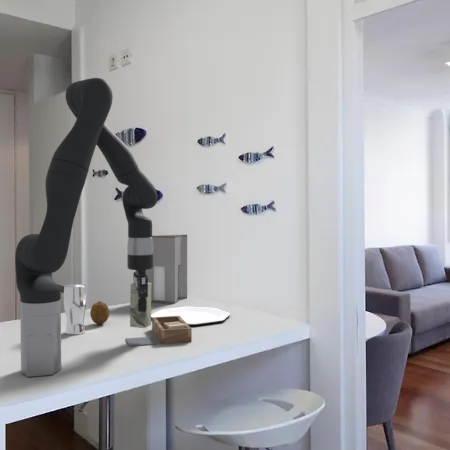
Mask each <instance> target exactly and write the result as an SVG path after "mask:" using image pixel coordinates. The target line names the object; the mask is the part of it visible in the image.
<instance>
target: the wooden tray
mask: <svg viewBox="0 0 450 450" xmlns="http://www.w3.org/2000/svg"><path fill="white" fill-rule="evenodd" d="M178 321H179V322H181V323H183V324H185V328H177V329H164V323H169V322H178ZM192 329H193V328H192V327H191V325H188V324H187V323H186V322H185V321H184V320H183V319H182V318H181V317H180V316H166V317H152V318H151V330H152V332H153V334H154V335H155V336H156V337H157V339H158V341H159V342H160V344H161V345H167V344H179V343H192V341H193V340H192V331H193V330H192Z"/></svg>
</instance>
